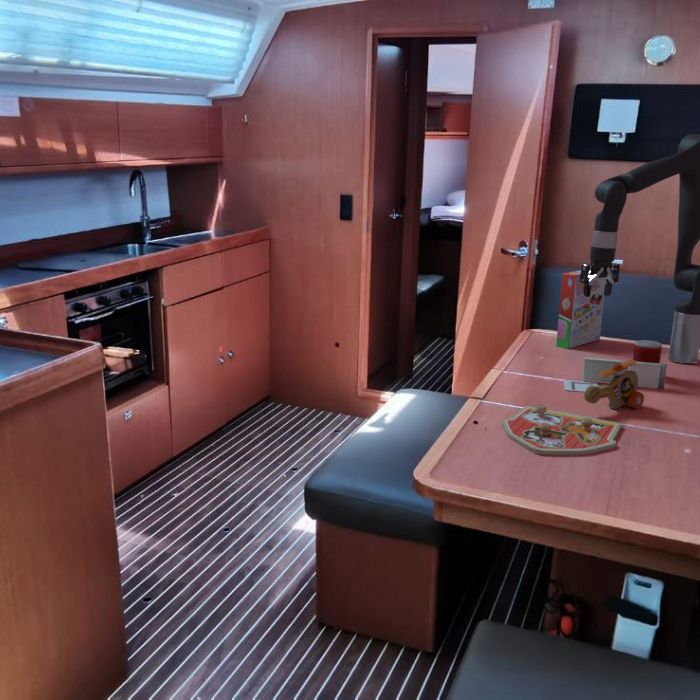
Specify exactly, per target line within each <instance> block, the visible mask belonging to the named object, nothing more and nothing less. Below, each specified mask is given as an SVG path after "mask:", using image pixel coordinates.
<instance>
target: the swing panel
mask: <svg viewBox="0 0 700 700" xmlns="http://www.w3.org/2000/svg"><path fill="white" fill-rule="evenodd" d="M617 363H618V364H621V363H622V360H620V359H610V358H597V357H586V356H585V357H584V360H583V371H582V381H585V382H597V383H599V382H600V383H609V382H610V381H611V379H612V378H613V377H614V376H615V375H613V374H612V375H610V376H607V377H605V378H602V377H600V376H599V373H601V372H603V371H605V370H607V369H610V368H612V367H613V366H614V365H615V364H617Z"/></svg>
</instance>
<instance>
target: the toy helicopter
mask: <svg viewBox="0 0 700 700" xmlns="http://www.w3.org/2000/svg"><path fill="white" fill-rule="evenodd" d="M622 362H623V361H622ZM622 362H621V364H618V363H617V364H615V365H614V366H613V367H612V368H610V369H607V370H605V371H603V372H601V373H599V376H600V377H602V378H605V377H607V376H610V375H612V374H613V375H615V376H614V377H613V378H612V379H611V381H610V382H607V383H606V384H603V385H600V386H598V387H597V386H589V387H588V388H587V389H586V391H585V392H584V400H585V401H586V402H587V403H589V404H592V405H593V404H597V402H599V401H600V400H601V399H606V398H607V399H608V407H609V408H610V409H613V410H617V409H618V408H619V407H620V406H625V405H627V404H628V406H629V407H630V408H632V409H634V410H638V409H640V408H641V407H642V405H643V404H644V402H645V400H644V399H645V396H644V394H643V393H642V392H640V391H637V389H638V387H637V386H638V376H637V374H636V373H635V372H634V371H631V370H629V369H628V370H625V368H626V367H628V368H630V366H632V365H635V364H636V363H637V362H636V361H635V360H633V359H629V360H626V362H623V363H622Z"/></svg>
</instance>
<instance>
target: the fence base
mask: <svg viewBox="0 0 700 700" xmlns="http://www.w3.org/2000/svg"><path fill="white" fill-rule="evenodd" d="M626 361H627V360H626V359H624V360H622V361H621V363H623V362H626ZM667 368H668V364H667V363H661V362H660V363H648V362H637V363H636V364H635V365H632V366H629V367H626V368H625V370H631V371H634V372H635V373H636V374H637V376H638V386H637V388H645V387H648V388H647V389H656V388H659V389H660V390H664V388H665V381H666V377H667Z"/></svg>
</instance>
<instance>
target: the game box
mask: <svg viewBox="0 0 700 700" xmlns="http://www.w3.org/2000/svg"><path fill="white" fill-rule="evenodd" d="M580 274H581V269H579V270H574V271H569V272H568V271H567V272H564V273H562V278H561V290H560V299H559V300H560V302H559V310H558V311H559V312H558V321H557V333H556V334H557V335H556V342H555V343H556V344H555V346H556V347H558V348H563V349H566V350H569V349H572V348H577V347H580V346H583V345H582V344H584V345H586V343H587V344H590V342H591V343H594V342H597V341H600V340H601V333H602V323H603V313H604V302H605V295H604V289H605V284H607V283H606V282H605V279H604V278H603V277H601V278H597V279H596V280H594V281H593V283H592V284H591V294H590V297H585V296H584V294H583V290H584V284H583V283H581V282H579V280H580ZM591 276H593V275H591ZM584 277H585V276H584ZM596 340H597V341H596ZM593 341H594V342H593ZM579 345H580V346H579ZM576 346H577V347H576Z"/></svg>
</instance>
